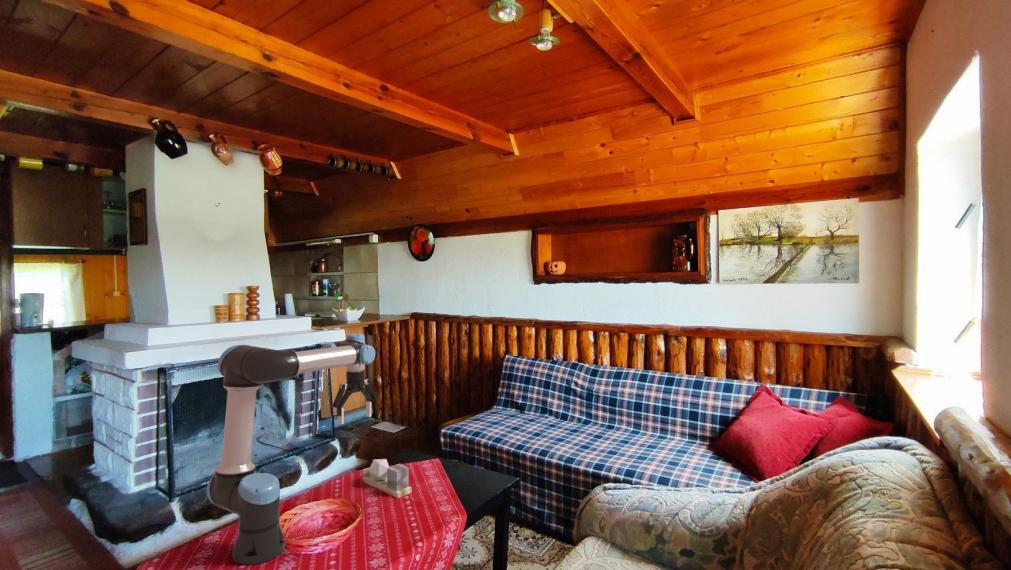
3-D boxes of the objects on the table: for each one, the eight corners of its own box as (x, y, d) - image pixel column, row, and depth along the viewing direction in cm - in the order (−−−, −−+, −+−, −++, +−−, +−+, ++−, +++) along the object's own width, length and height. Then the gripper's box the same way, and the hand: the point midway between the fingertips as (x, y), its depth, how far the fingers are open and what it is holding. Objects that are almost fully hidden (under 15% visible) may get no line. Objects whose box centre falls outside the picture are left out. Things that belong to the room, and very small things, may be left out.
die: (381, 487, 203) (394, 464, 206) (362, 475, 203) (376, 453, 207) (382, 486, 211) (395, 464, 214) (364, 475, 211) (378, 453, 214)
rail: (398, 498, 196) (398, 473, 196) (362, 481, 212) (362, 458, 211) (411, 492, 202) (411, 468, 202) (375, 476, 217) (376, 453, 217)
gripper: (334, 376, 197) (333, 428, 198) (385, 367, 217) (384, 415, 217) (323, 373, 202) (323, 424, 203) (374, 365, 222) (374, 411, 222)
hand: (355, 419), depth 210 cm, fingers open, 13 cm apart
